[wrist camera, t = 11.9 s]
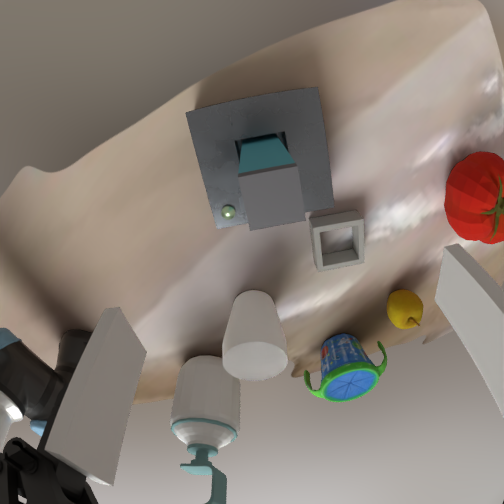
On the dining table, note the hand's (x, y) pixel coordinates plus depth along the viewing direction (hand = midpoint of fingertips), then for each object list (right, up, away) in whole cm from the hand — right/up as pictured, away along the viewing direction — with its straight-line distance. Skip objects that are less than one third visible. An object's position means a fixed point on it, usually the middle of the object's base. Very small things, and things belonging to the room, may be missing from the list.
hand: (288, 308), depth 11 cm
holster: (+11, +4, +31) cm, 33 cm away
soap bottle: (-10, -21, +46) cm, 51 cm away
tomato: (+32, +13, +26) cm, 44 cm away
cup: (-1, -6, +37) cm, 38 cm away
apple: (+24, -5, +37) cm, 44 cm away
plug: (0, +14, +24) cm, 28 cm away
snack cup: (+15, -16, +43) cm, 48 cm away
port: (0, +15, +25) cm, 29 cm away
